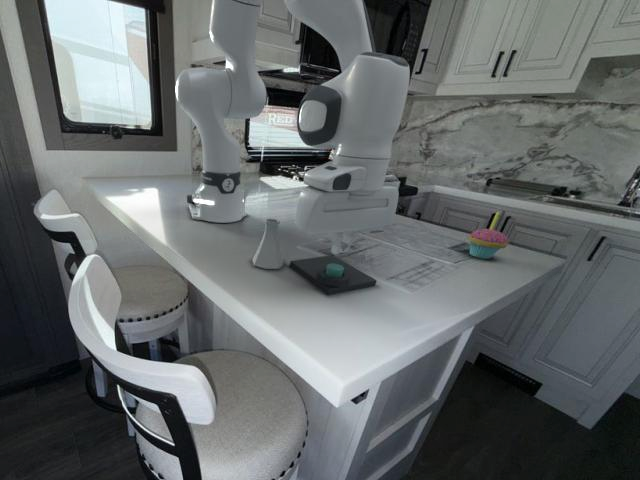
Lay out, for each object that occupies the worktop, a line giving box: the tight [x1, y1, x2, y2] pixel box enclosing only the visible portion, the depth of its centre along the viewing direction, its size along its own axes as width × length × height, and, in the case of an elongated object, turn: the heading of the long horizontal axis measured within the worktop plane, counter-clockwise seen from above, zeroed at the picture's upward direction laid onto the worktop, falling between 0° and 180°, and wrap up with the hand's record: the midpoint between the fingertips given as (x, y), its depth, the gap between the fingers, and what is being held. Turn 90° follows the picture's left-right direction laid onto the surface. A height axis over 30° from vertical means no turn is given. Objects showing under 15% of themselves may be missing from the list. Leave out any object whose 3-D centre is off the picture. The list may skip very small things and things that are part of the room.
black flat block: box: [289, 254, 378, 296], centre depth 65 cm, size 14×12×3 cm
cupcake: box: [467, 208, 510, 260], centre depth 79 cm, size 9×8×12 cm
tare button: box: [326, 263, 344, 278], centre depth 60 cm, size 3×3×2 cm
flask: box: [252, 218, 285, 270], centre depth 67 cm, size 7×7×10 cm
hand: (339, 252), depth 58 cm, fingers closed
